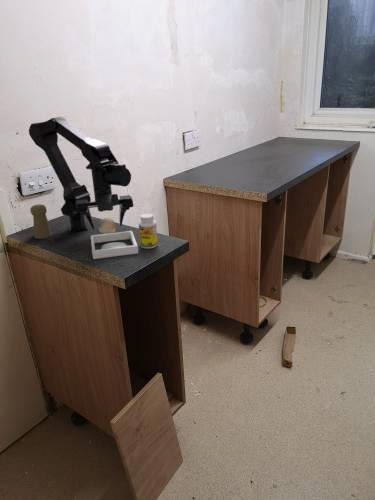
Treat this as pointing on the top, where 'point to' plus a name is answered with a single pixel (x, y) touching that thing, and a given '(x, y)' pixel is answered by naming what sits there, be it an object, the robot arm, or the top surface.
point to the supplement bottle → (148, 231)
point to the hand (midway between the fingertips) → (107, 227)
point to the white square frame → (113, 245)
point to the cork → (40, 222)
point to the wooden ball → (107, 226)
